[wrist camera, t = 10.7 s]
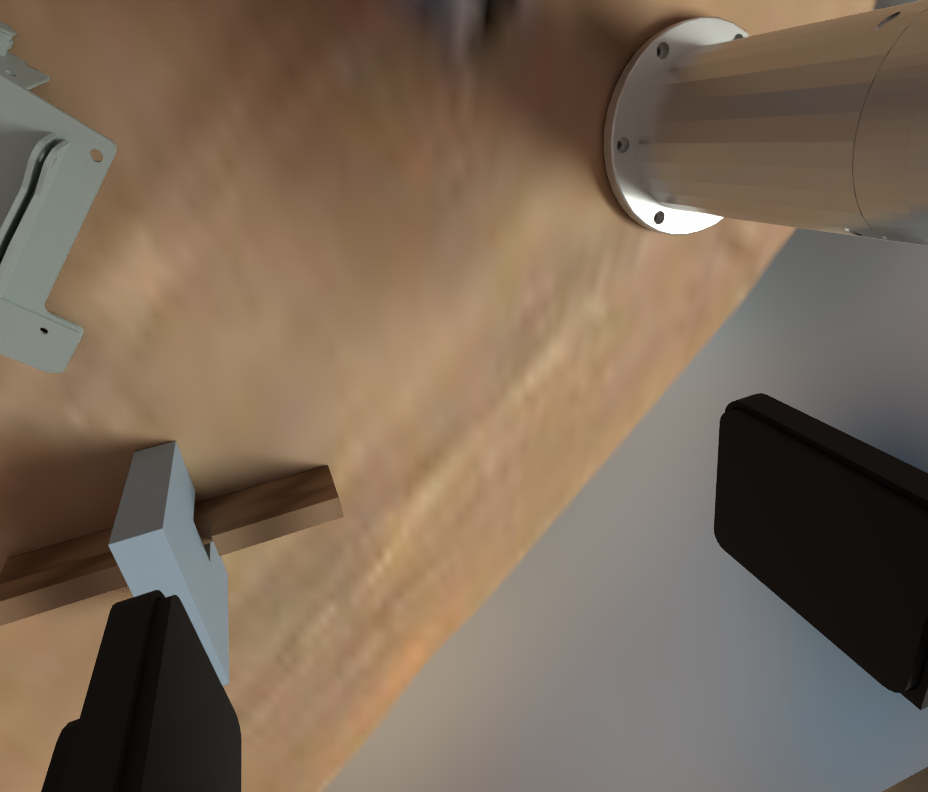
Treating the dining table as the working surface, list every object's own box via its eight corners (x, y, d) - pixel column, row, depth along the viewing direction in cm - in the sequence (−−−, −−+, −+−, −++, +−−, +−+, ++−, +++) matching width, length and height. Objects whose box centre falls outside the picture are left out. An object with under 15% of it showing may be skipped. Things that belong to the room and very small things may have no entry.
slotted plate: (134, 451, 33) (107, 544, 25) (175, 440, 34) (162, 528, 26) (191, 585, 37) (184, 700, 30) (227, 574, 38) (229, 683, 30)
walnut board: (327, 465, 38) (338, 497, 34) (332, 483, 38) (343, 516, 35) (8, 558, 33) (-17, 606, 29) (19, 577, 33) (-4, 627, 30)
